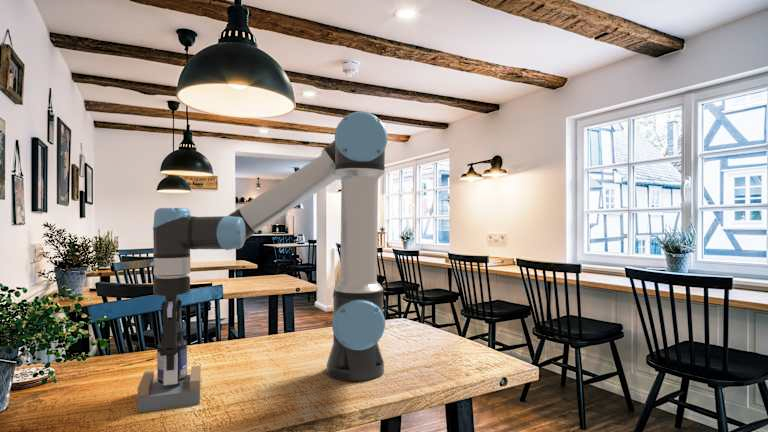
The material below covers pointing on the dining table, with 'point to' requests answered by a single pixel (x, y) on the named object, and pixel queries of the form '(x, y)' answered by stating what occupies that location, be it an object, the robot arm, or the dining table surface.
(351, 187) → the robot arm
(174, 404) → the display plinth
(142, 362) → the dining table surface
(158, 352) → the pill bottle
